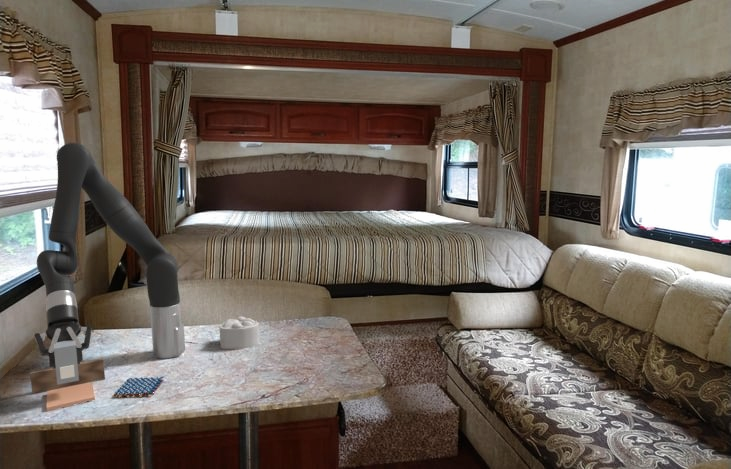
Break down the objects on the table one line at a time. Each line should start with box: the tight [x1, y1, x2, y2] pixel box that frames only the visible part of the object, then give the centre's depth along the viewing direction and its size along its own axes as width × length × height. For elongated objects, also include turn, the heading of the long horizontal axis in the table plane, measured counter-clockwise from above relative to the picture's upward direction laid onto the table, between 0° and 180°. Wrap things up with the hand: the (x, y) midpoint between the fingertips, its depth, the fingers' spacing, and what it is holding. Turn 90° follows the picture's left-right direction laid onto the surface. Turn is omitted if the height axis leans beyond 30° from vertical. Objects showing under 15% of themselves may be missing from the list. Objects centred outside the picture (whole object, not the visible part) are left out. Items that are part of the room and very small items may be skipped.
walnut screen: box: [29, 358, 106, 395], centre depth 144 cm, size 18×1×6 cm, turn 122°
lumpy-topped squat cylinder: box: [219, 316, 261, 350], centre depth 176 cm, size 10×13×9 cm
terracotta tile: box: [46, 382, 96, 412], centre depth 137 cm, size 11×11×1 cm
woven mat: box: [113, 376, 165, 399], centre depth 142 cm, size 10×11×2 cm
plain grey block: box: [54, 340, 79, 385], centre depth 136 cm, size 5×5×10 cm
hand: (66, 365), depth 134 cm, fingers closed on plain grey block, 5 cm apart
